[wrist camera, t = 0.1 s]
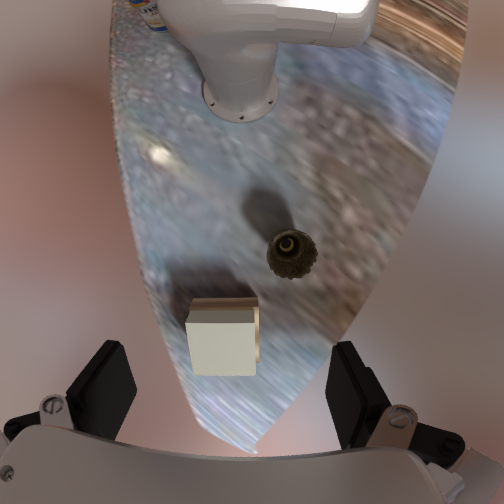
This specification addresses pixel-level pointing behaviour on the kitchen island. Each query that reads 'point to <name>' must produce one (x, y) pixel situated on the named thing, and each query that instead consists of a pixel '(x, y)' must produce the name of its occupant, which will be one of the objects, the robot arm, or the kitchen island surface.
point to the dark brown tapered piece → (291, 254)
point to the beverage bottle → (149, 14)
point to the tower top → (222, 342)
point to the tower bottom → (231, 305)
